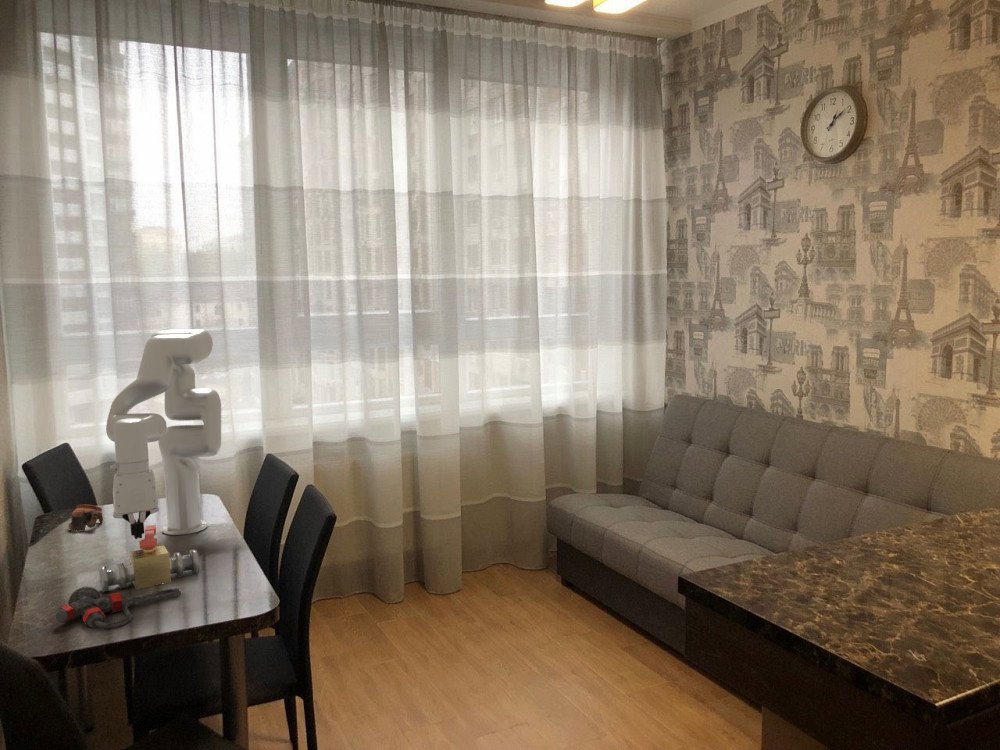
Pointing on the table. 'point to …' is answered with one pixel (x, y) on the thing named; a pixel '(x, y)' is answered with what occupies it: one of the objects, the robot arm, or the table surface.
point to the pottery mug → (85, 517)
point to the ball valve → (149, 568)
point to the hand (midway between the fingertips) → (138, 537)
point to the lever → (149, 538)
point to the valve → (104, 605)
